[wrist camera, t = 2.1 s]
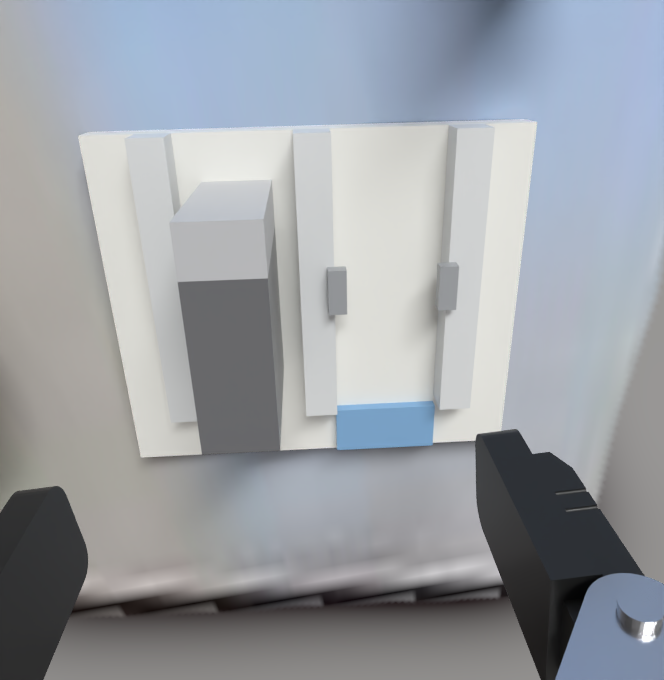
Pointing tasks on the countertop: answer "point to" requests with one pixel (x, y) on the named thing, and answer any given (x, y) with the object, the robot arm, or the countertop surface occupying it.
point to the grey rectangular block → (231, 313)
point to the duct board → (332, 272)
